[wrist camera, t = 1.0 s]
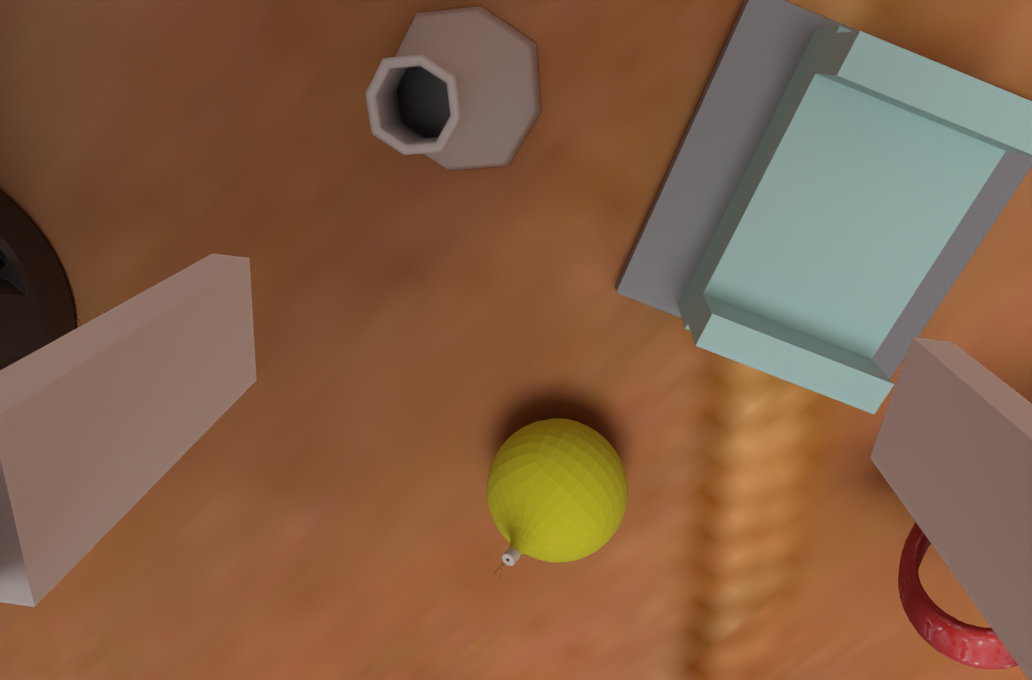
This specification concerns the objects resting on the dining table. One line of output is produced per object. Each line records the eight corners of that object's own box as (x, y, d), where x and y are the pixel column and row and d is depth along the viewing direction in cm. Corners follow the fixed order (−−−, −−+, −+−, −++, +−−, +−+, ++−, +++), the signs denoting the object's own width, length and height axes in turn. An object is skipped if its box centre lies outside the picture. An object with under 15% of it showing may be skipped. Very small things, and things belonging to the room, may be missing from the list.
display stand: (615, 286, 34) (620, 335, 28) (749, -10, 29) (789, -27, 23) (872, 385, 35) (929, 453, 29) (1050, 114, 30) (1166, 129, 24)
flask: (523, 188, 33) (495, 239, 24) (376, 150, 33) (292, 187, 24) (561, 27, 30) (547, 14, 21) (401, -15, 30) (317, -46, 21)
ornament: (470, 444, 39) (432, 565, 30) (564, 369, 36) (555, 476, 27) (555, 526, 40) (544, 665, 31) (651, 459, 38) (669, 588, 29)
